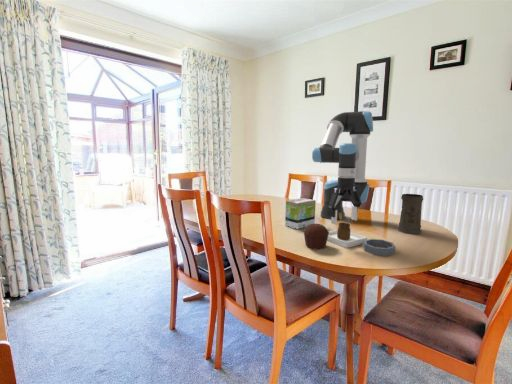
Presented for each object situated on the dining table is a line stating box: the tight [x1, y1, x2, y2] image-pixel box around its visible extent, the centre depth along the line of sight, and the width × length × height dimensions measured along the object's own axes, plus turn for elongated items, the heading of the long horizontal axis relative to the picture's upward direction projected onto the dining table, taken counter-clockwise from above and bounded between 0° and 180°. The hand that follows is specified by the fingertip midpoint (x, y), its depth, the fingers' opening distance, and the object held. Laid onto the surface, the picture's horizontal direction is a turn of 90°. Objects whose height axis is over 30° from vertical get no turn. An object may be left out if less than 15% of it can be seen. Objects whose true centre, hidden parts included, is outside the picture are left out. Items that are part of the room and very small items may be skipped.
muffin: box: [302, 223, 329, 250], centre depth 124 cm, size 12×11×10 cm
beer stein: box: [397, 193, 424, 235], centre depth 148 cm, size 15×11×20 cm
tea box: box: [284, 197, 317, 230], centre depth 157 cm, size 15×10×15 cm, turn 131°
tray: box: [327, 229, 368, 249], centre depth 133 cm, size 16×14×2 cm
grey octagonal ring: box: [362, 238, 396, 257], centre depth 120 cm, size 12×12×3 cm
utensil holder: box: [336, 213, 351, 240], centre depth 131 cm, size 6×6×12 cm
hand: (344, 221), depth 131 cm, fingers open, 13 cm apart
